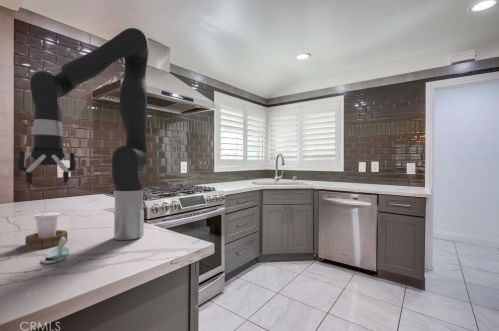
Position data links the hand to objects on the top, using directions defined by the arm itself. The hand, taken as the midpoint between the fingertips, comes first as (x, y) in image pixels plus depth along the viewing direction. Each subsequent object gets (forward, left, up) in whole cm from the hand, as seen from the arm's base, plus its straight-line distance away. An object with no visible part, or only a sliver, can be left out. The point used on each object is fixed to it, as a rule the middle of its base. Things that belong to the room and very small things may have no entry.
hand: (48, 183), depth 78 cm
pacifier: (-10, +16, -20) cm, 27 cm away
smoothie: (0, 0, -20) cm, 20 cm away
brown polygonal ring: (0, 0, -20) cm, 20 cm away
